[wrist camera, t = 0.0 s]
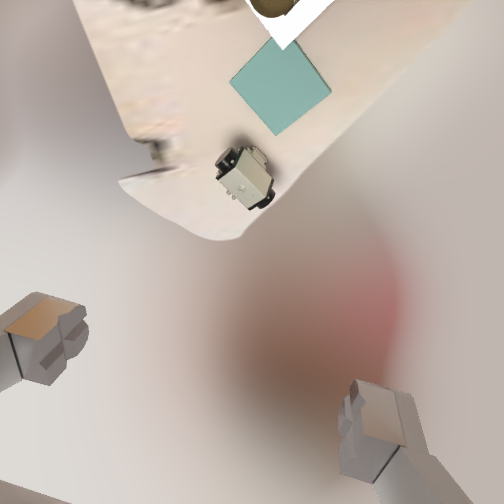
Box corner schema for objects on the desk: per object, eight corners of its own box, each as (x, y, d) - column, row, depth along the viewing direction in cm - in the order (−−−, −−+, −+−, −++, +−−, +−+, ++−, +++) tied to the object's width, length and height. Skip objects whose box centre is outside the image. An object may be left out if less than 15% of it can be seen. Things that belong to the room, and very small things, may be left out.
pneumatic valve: (243, 127, 60) (224, 162, 53) (283, 171, 65) (271, 209, 58) (224, 143, 64) (204, 178, 56) (263, 184, 69) (250, 221, 61)
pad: (283, 24, 47) (282, 26, 47) (331, 91, 52) (331, 93, 52) (230, 80, 55) (229, 82, 54) (276, 133, 60) (275, 136, 59)
